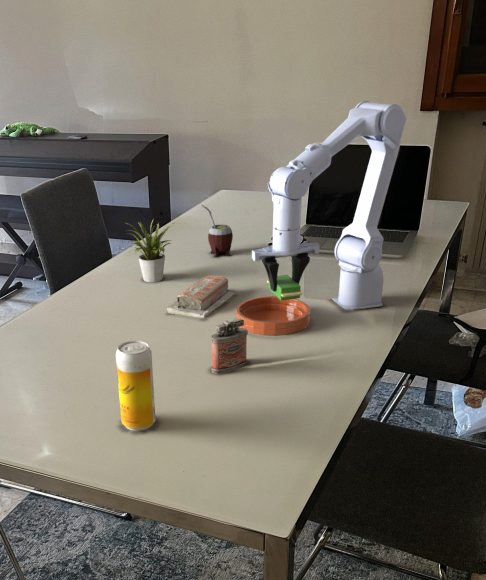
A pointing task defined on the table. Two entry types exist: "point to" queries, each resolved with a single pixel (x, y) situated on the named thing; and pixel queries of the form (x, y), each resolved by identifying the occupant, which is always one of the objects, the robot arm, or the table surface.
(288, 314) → the bowl
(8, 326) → the table surface
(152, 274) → the house plant
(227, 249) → the mate gourd
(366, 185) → the robot arm
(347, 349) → the table surface
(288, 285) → the eraser with green sleeve
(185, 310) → the packaged product
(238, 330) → the lighter
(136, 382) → the beer can
